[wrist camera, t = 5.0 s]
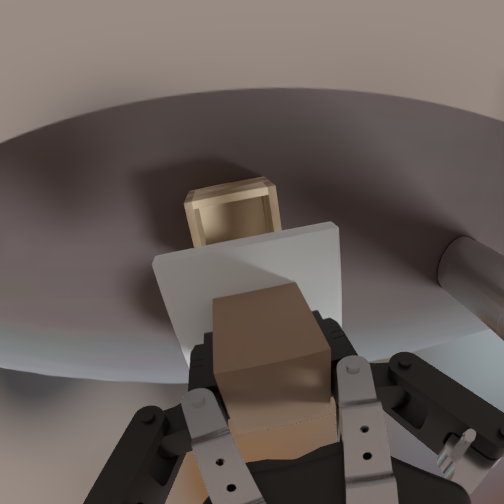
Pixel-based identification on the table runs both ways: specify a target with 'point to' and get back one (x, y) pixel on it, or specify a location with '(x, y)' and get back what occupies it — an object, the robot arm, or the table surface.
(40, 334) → the table surface
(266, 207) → the box
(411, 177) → the table surface
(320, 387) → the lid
